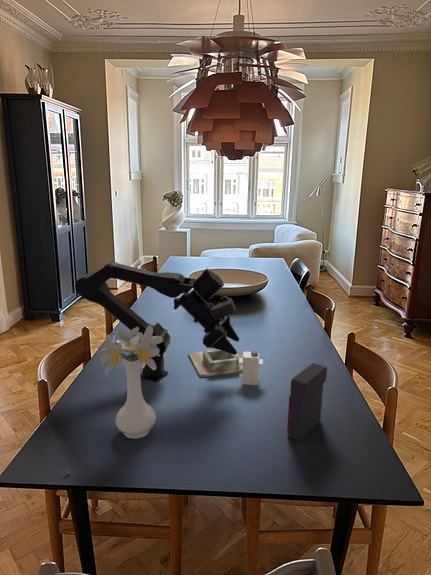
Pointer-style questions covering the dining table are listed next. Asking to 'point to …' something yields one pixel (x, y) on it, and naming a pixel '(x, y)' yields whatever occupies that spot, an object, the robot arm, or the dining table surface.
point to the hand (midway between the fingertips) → (237, 346)
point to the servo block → (250, 367)
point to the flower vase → (133, 377)
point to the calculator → (305, 401)
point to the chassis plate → (215, 362)
